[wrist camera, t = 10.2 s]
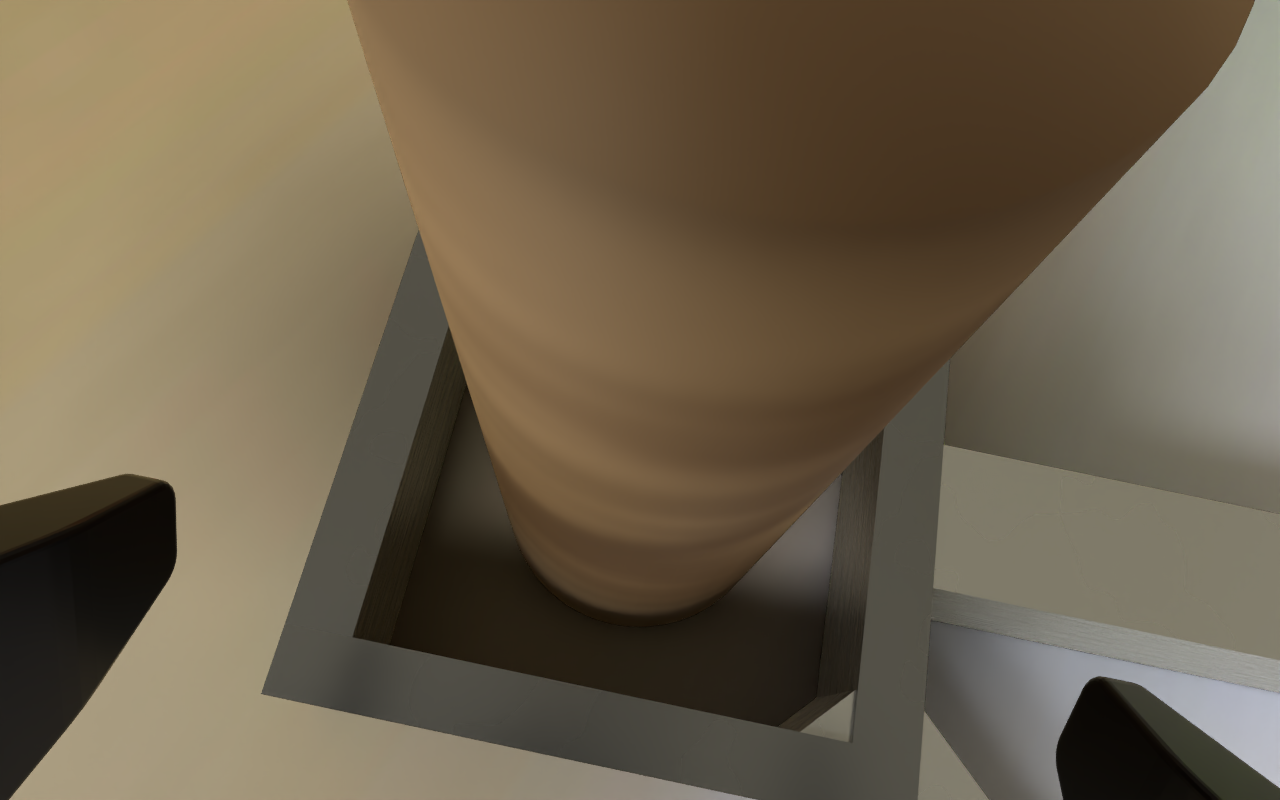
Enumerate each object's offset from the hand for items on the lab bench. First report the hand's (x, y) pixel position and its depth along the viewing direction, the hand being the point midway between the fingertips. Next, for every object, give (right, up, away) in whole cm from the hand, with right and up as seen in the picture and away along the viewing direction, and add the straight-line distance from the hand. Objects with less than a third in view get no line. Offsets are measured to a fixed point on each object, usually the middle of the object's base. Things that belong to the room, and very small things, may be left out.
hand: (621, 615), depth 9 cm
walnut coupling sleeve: (0, 0, +8) cm, 8 cm away
